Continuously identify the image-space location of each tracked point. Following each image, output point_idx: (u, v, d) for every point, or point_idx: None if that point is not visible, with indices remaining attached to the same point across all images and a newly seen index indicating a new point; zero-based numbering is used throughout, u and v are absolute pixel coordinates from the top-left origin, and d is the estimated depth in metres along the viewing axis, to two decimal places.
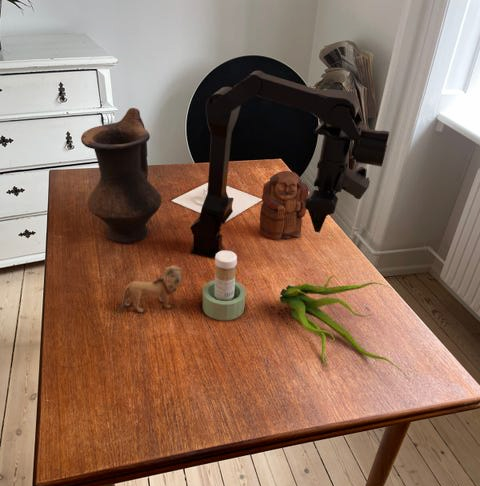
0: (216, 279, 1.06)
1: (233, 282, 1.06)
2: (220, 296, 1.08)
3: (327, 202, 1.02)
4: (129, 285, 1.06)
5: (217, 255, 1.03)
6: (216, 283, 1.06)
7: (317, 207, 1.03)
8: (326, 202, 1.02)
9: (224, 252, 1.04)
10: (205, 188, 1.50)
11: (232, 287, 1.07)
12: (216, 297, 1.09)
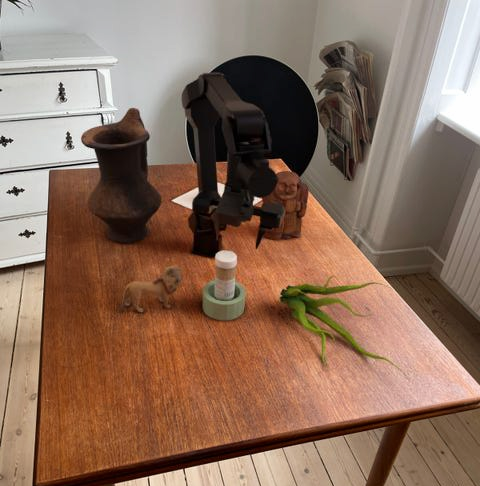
0: (216, 279, 1.06)
1: (233, 282, 1.06)
2: (220, 296, 1.08)
3: None
4: (129, 285, 1.06)
5: (217, 255, 1.03)
6: (216, 283, 1.06)
7: None
8: (195, 197, 1.03)
9: (224, 252, 1.04)
10: None
11: (232, 287, 1.07)
12: (216, 297, 1.09)
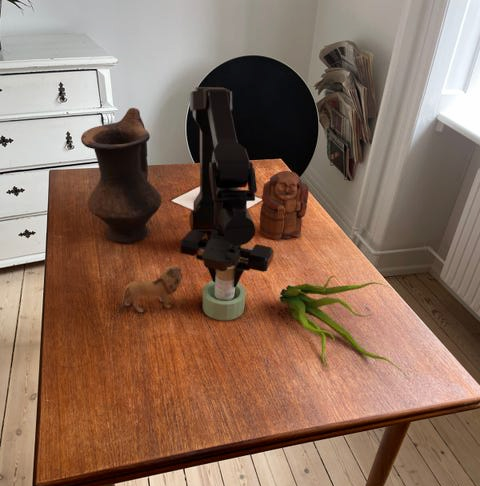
0: (217, 279, 1.06)
1: None
2: (220, 296, 1.08)
3: (182, 239, 1.03)
4: (129, 285, 1.06)
5: None
6: (217, 283, 1.06)
7: None
8: (183, 239, 1.03)
9: None
10: None
11: (232, 287, 1.07)
12: (216, 297, 1.09)
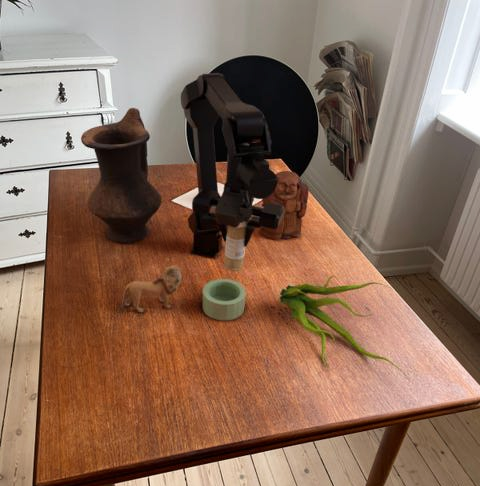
0: (228, 238, 1.07)
1: (244, 242, 1.08)
2: (231, 255, 1.09)
3: None
4: (129, 285, 1.06)
5: None
6: (228, 242, 1.08)
7: None
8: (195, 196, 1.04)
9: None
10: None
11: (243, 247, 1.08)
12: (227, 256, 1.10)
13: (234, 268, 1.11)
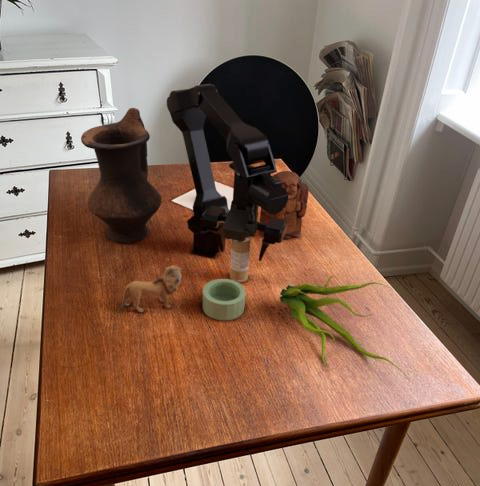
0: (232, 252, 1.15)
1: (248, 255, 1.16)
2: (236, 268, 1.17)
3: (203, 213, 1.11)
4: (129, 285, 1.06)
5: None
6: (233, 255, 1.16)
7: None
8: (203, 213, 1.12)
9: None
10: None
11: (247, 259, 1.16)
12: (232, 269, 1.18)
13: (239, 279, 1.19)
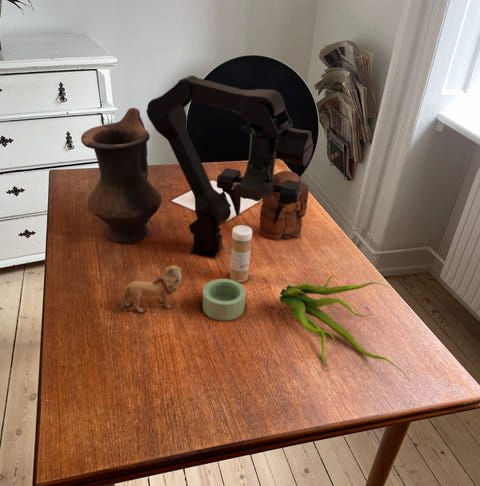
0: (233, 251, 1.15)
1: (248, 254, 1.16)
2: (236, 268, 1.17)
3: (219, 175, 1.12)
4: (129, 285, 1.06)
5: (234, 229, 1.13)
6: (233, 255, 1.16)
7: None
8: (219, 175, 1.13)
9: (240, 226, 1.14)
10: None
11: (247, 259, 1.16)
12: (232, 269, 1.18)
13: (239, 279, 1.19)
